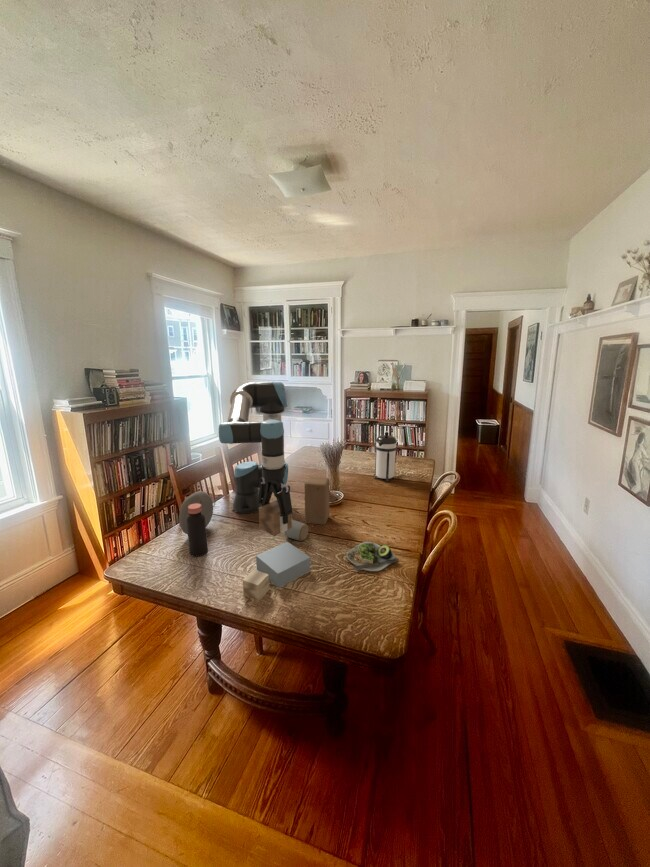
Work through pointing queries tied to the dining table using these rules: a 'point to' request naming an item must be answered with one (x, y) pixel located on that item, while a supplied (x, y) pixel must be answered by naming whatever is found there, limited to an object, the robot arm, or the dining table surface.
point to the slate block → (283, 564)
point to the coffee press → (385, 456)
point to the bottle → (196, 531)
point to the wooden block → (317, 500)
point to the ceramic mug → (297, 531)
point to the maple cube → (256, 585)
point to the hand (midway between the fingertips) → (275, 527)
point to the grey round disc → (192, 499)
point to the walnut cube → (272, 518)
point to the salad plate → (371, 556)
